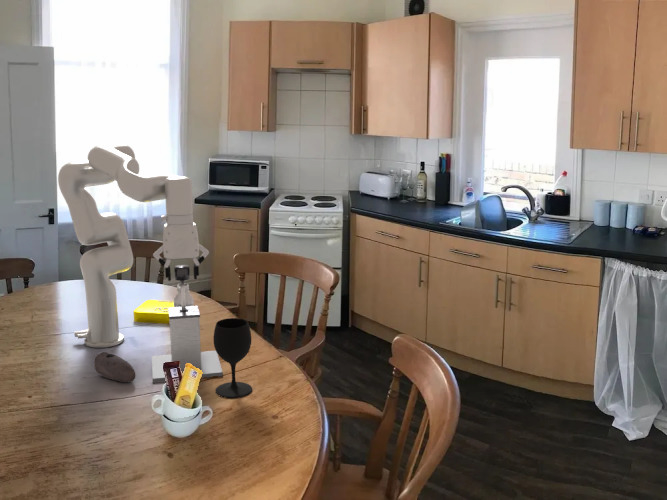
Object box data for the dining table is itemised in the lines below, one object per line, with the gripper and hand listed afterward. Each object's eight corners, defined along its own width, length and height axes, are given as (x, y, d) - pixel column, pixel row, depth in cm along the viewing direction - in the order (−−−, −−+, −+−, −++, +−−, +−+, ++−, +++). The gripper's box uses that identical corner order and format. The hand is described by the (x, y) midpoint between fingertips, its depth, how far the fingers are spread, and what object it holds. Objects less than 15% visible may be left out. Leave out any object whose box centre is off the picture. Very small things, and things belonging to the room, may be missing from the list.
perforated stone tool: (141, 382, 212) (140, 359, 210) (127, 388, 208) (126, 365, 206) (107, 370, 220) (106, 348, 219) (93, 376, 216) (91, 354, 214)
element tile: (186, 312, 276) (185, 299, 275) (172, 325, 261) (171, 312, 260) (147, 310, 278) (147, 298, 277) (132, 323, 263) (131, 310, 262)
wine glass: (216, 383, 211) (214, 317, 207) (252, 382, 212) (251, 316, 208) (213, 399, 201) (211, 329, 197) (252, 397, 202) (250, 329, 198)
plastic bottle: (191, 347, 239) (189, 288, 234) (171, 346, 240) (169, 287, 236) (198, 340, 245) (196, 283, 240) (179, 339, 246) (177, 281, 242)
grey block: (171, 370, 217) (169, 316, 213) (170, 356, 228) (167, 304, 224) (202, 368, 219) (199, 314, 215) (199, 353, 230) (197, 302, 226)
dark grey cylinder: (177, 333, 217) (174, 269, 213) (176, 328, 221) (173, 265, 217) (192, 331, 218) (190, 268, 214) (191, 327, 223) (189, 264, 218)
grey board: (152, 382, 212) (152, 378, 212) (151, 359, 229) (151, 356, 228) (222, 376, 217) (222, 372, 216) (216, 354, 234) (216, 350, 233)
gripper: (148, 223, 206) (152, 284, 211) (211, 220, 211) (213, 280, 215) (148, 218, 213) (151, 277, 218) (209, 215, 218) (211, 273, 222)
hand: (182, 278), depth 216 cm, fingers open, 6 cm apart
